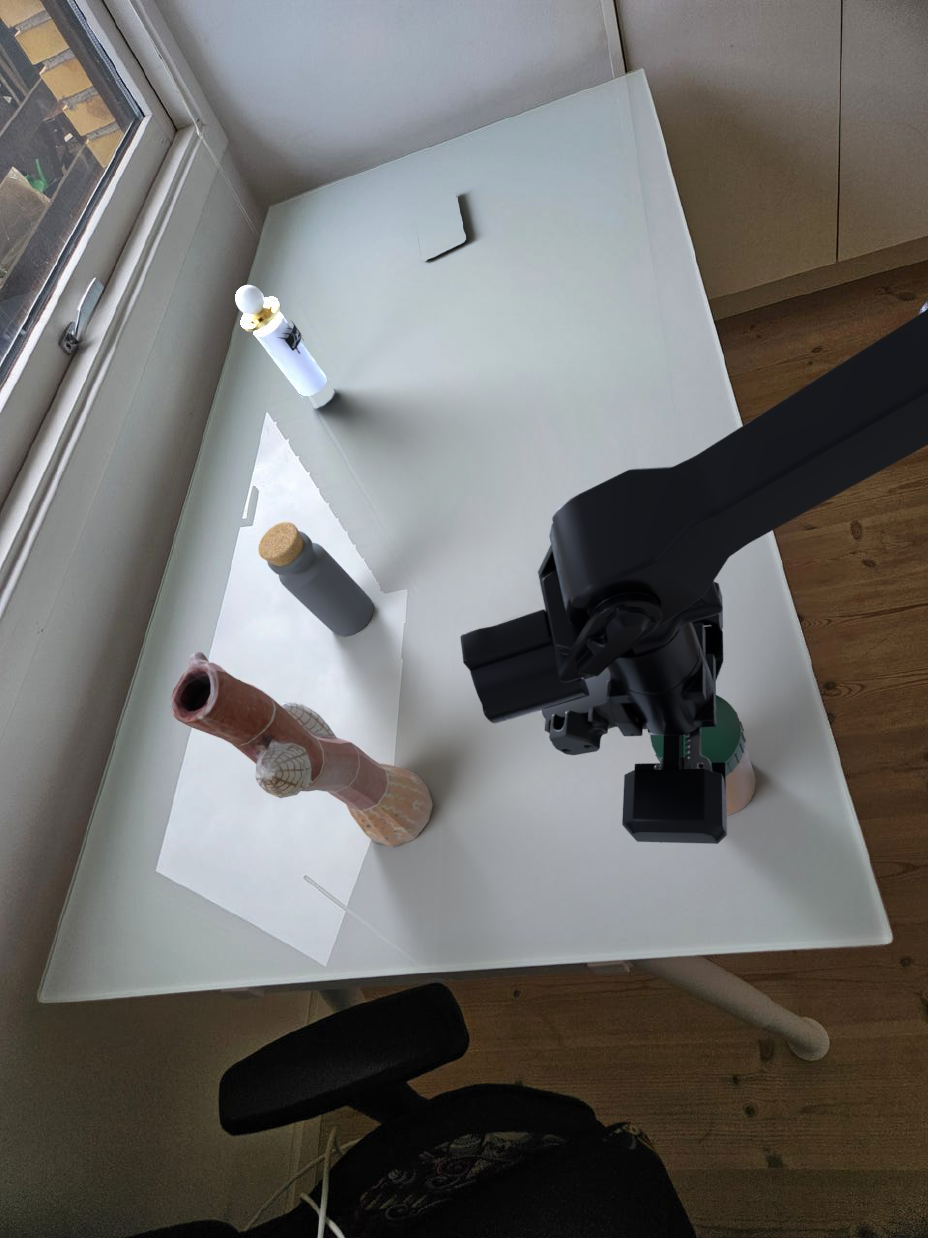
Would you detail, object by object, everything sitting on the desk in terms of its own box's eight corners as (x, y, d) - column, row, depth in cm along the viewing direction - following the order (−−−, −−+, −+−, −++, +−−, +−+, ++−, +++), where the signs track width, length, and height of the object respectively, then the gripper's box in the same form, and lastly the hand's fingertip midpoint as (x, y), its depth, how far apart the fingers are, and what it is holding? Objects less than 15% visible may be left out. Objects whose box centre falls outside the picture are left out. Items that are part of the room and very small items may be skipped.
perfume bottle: (304, 419, 118) (218, 310, 103) (310, 392, 121) (227, 281, 106) (338, 409, 116) (255, 295, 101) (343, 381, 119) (264, 267, 104)
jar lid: (724, 690, 62) (719, 676, 60) (761, 765, 58) (757, 753, 56) (643, 722, 63) (636, 710, 62) (674, 798, 59) (668, 787, 58)
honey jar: (772, 781, 65) (757, 732, 58) (718, 832, 65) (696, 790, 57) (716, 733, 69) (696, 682, 62) (665, 781, 69) (638, 736, 61)
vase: (365, 777, 82) (161, 630, 59) (431, 760, 79) (246, 600, 56) (365, 882, 75) (138, 763, 53) (437, 867, 73) (232, 736, 50)
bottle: (321, 618, 96) (244, 545, 84) (358, 585, 96) (286, 508, 85) (344, 646, 92) (266, 573, 80) (382, 611, 92) (310, 534, 81)
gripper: (542, 545, 58) (600, 649, 70) (513, 799, 49) (586, 868, 61) (703, 523, 53) (736, 639, 65) (704, 799, 44) (743, 875, 56)
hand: (697, 749), depth 62 cm, fingers closed on jar lid, 6 cm apart
